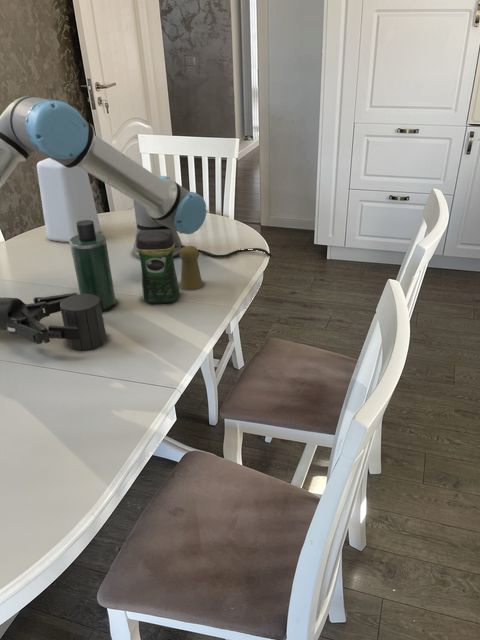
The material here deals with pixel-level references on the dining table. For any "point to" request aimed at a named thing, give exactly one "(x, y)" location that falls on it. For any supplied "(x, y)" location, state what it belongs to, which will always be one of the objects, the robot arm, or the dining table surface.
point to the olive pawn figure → (190, 268)
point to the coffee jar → (157, 265)
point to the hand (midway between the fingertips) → (91, 318)
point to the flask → (92, 264)
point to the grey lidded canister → (84, 320)
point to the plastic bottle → (65, 199)
